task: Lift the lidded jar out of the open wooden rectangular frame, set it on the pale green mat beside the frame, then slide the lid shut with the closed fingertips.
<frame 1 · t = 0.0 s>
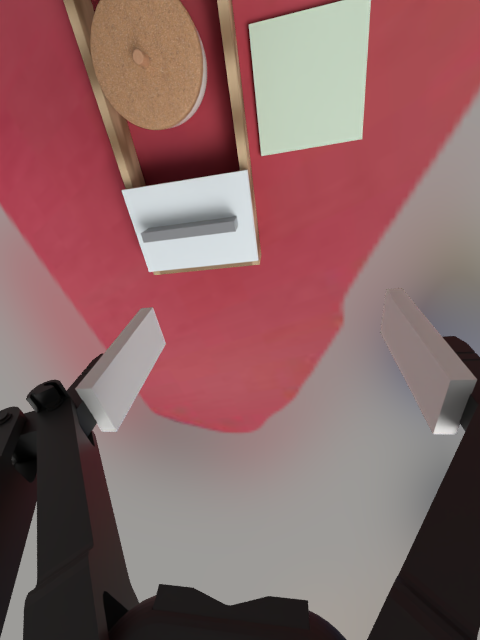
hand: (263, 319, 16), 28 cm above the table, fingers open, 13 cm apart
lid: (190, 228, 36), point 6 cm above the table, slide at 0.0 cm
mat: (308, 86, 32), on the table
lidded jar: (172, 76, 33), resting in wooden rectangular frame
wooden rectangular frame: (183, 132, 36), on the table
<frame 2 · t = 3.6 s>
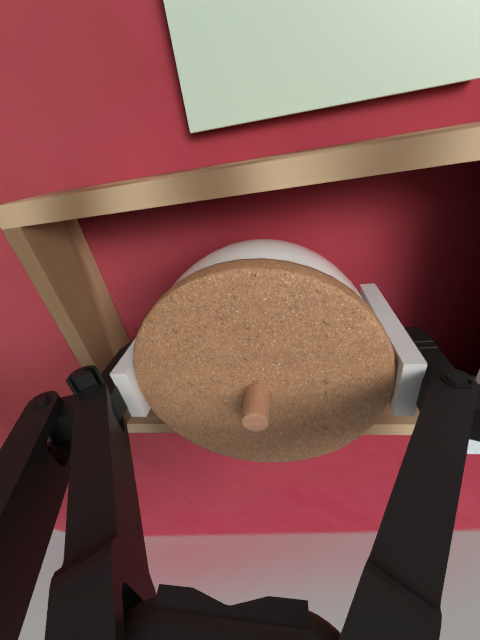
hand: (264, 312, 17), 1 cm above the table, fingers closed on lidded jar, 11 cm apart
lidded jar: (265, 299, 18), resting in wooden rectangular frame, touching gripper
wooden rectangular frame: (354, 294, 17), on the table
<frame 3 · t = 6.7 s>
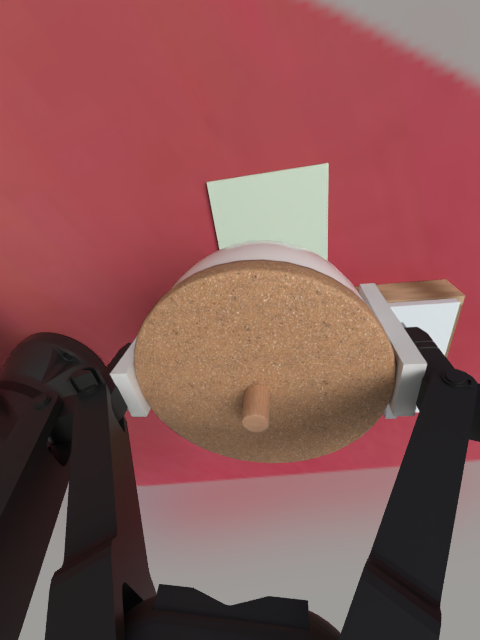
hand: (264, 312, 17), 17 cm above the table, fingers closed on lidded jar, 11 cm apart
lid: (392, 371, 32), point 6 cm above the table, slide at 0.0 cm
mat: (270, 232, 31), on the table
lidded jar: (265, 299, 18), point 16 cm above the table, touching gripper
wooden rectangular frame: (295, 343, 39), on the table
when the fingers open (3 cm above the table, at t = 10.1 s): lidded jar drops 1 cm, resting on mat.
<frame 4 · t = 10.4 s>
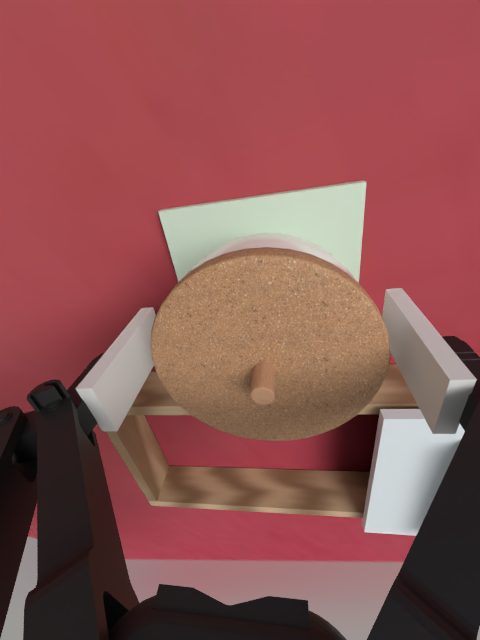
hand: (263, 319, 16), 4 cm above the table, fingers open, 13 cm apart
lid: (456, 501, 21), point 6 cm above the table, slide at 0.0 cm
mat: (266, 287, 20), on the table
lidded jar: (269, 291, 19), resting on mat
wooden rectangular frame: (302, 429, 27), on the table
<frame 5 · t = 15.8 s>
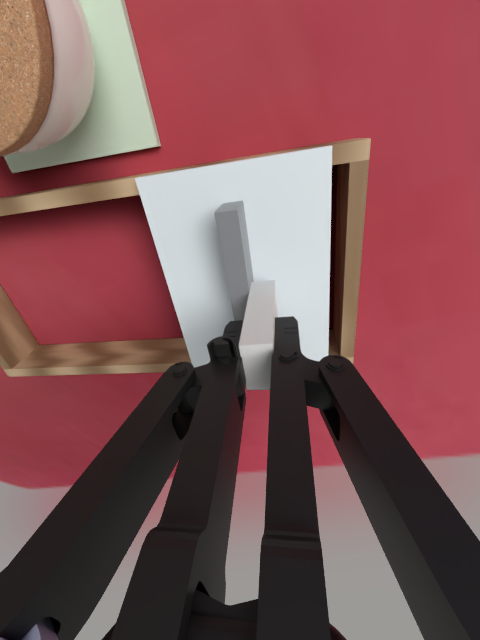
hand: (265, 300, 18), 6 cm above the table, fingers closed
lid: (245, 300, 19), point 6 cm above the table, slide at 1.1 cm, touching gripper
mat: (45, 52, 18), on the table
lidded jar: (44, 52, 18), resting on mat
wooden rectangular frame: (150, 275, 26), on the table
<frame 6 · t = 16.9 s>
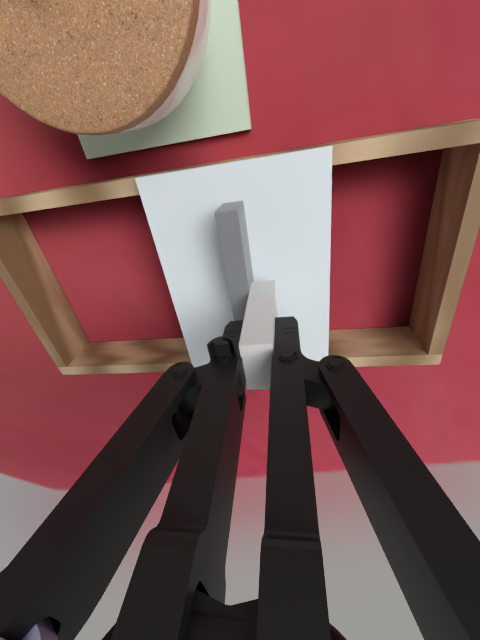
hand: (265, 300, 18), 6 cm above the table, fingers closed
lid: (245, 300, 19), point 6 cm above the table, slide at 7.6 cm, touching gripper
mat: (138, 26, 17), on the table
lidded jar: (139, 26, 16), resting on mat
wooden rectangular frame: (219, 268, 24), on the table
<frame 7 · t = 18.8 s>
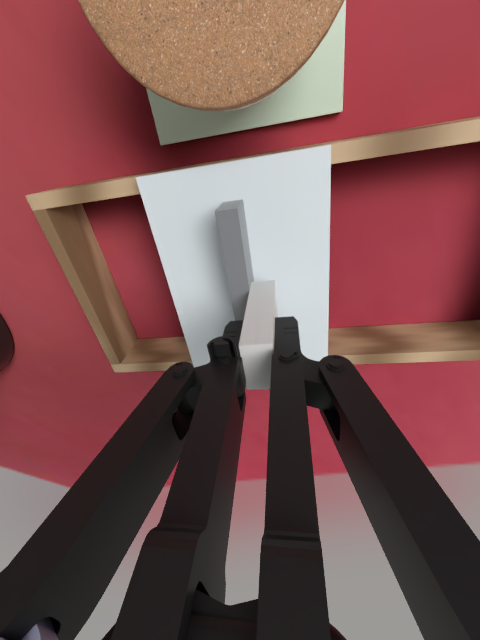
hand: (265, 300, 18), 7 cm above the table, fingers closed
lid: (245, 298, 19), point 6 cm above the table, slide at 13.3 cm, touching gripper
mat: (232, 2, 16), on the table
lidded jar: (235, 1, 16), resting on mat
wooden rectangular frame: (286, 261, 23), on the table
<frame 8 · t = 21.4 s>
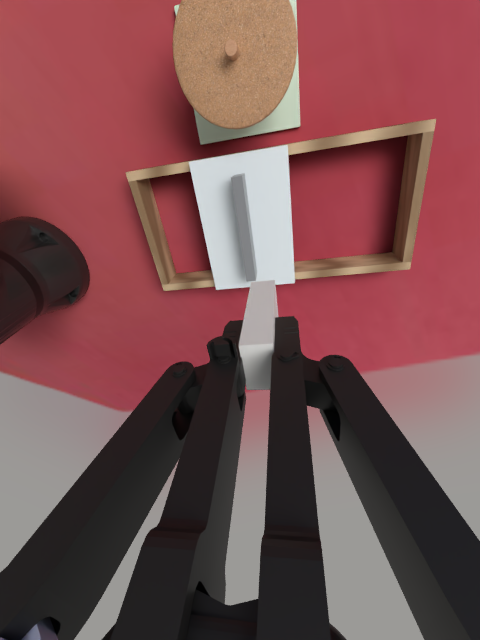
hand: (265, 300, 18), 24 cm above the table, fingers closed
lid: (245, 229, 34), point 6 cm above the table, slide at 13.6 cm
mat: (242, 71, 31), on the table
lidded jar: (243, 71, 31), resting on mat
wooden rectangular frame: (272, 215, 39), on the table
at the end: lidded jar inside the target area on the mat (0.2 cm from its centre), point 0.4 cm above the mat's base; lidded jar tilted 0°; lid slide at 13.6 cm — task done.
